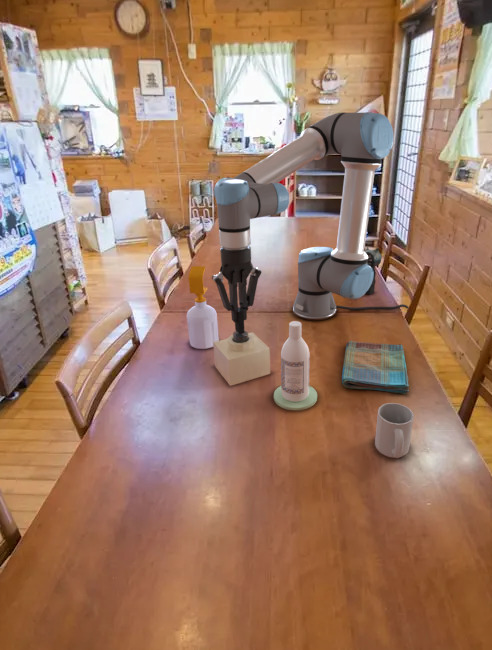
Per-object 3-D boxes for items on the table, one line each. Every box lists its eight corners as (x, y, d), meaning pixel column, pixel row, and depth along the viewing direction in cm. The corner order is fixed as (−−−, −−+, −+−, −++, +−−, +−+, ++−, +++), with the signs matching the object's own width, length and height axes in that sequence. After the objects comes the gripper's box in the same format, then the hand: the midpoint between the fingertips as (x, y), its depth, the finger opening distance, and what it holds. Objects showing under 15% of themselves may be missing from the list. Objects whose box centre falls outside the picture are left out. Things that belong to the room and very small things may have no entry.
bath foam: (292, 383, 119) (292, 314, 110) (314, 393, 115) (316, 322, 106) (275, 395, 114) (274, 324, 106) (297, 406, 110) (297, 333, 101)
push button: (244, 335, 125) (244, 328, 124) (250, 341, 122) (250, 334, 121) (231, 338, 123) (230, 332, 123) (236, 345, 120) (236, 338, 119)
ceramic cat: (379, 292, 176) (384, 242, 168) (370, 297, 172) (374, 246, 163) (338, 280, 189) (340, 233, 180) (328, 284, 184) (330, 236, 176)
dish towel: (340, 388, 118) (341, 380, 117) (345, 345, 139) (346, 338, 138) (408, 395, 115) (410, 386, 114) (403, 349, 136) (404, 342, 134)
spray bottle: (221, 336, 145) (216, 263, 135) (215, 350, 137) (208, 273, 127) (194, 335, 146) (186, 262, 136) (186, 349, 138) (177, 273, 128)
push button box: (253, 356, 134) (252, 325, 129) (270, 373, 125) (269, 341, 121) (215, 366, 129) (212, 335, 124) (230, 385, 120) (227, 353, 116)
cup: (405, 436, 101) (409, 403, 97) (415, 468, 92) (420, 434, 88) (372, 435, 101) (375, 402, 97) (379, 468, 92) (383, 433, 88)
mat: (309, 382, 121) (310, 379, 120) (322, 406, 111) (323, 404, 111) (269, 388, 119) (269, 385, 118) (279, 413, 109) (279, 410, 109)
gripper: (252, 238, 117) (255, 321, 127) (205, 246, 112) (212, 331, 122) (266, 246, 111) (268, 331, 121) (216, 254, 106) (222, 343, 116)
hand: (240, 331), depth 121 cm, fingers closed
